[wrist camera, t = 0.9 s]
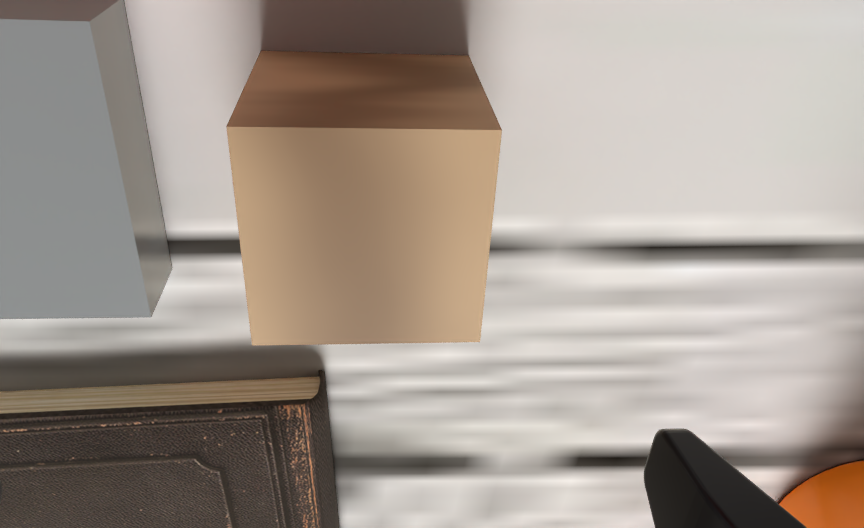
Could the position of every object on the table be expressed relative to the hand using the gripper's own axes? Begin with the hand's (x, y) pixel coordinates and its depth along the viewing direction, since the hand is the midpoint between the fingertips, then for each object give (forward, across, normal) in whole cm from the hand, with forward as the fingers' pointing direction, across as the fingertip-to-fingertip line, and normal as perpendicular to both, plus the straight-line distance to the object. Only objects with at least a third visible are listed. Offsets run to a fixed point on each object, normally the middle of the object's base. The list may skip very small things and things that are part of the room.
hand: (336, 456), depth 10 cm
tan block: (+12, 0, +1) cm, 12 cm away
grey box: (+12, +10, +1) cm, 15 cm away
